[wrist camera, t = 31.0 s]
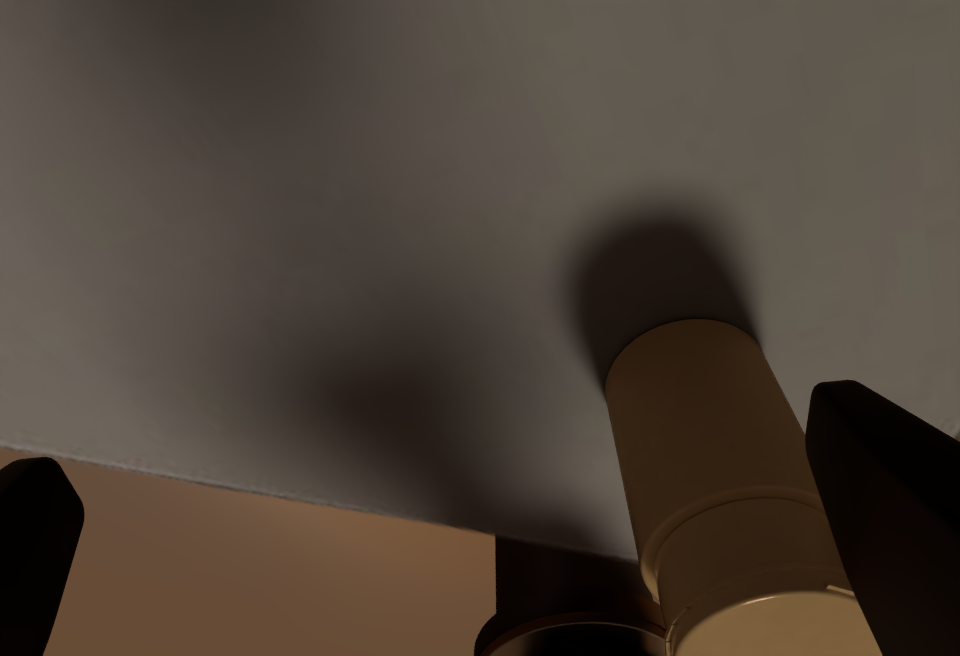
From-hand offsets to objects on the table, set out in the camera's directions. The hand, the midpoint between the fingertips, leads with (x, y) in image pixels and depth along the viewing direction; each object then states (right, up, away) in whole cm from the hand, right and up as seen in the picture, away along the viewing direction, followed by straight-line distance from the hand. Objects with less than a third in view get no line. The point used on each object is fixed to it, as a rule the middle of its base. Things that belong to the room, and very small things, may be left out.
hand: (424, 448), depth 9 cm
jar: (+7, 0, +15) cm, 17 cm away
